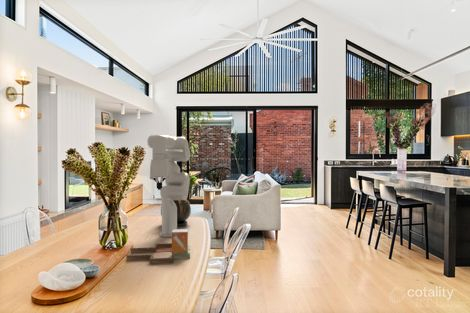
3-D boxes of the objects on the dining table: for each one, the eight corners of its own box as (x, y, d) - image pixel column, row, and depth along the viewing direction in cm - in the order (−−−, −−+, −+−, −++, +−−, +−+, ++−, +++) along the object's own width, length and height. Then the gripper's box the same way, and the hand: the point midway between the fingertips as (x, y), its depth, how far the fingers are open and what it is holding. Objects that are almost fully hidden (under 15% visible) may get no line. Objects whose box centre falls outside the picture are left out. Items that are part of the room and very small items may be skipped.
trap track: (132, 249, 184) (132, 244, 184) (189, 247, 188) (189, 242, 188) (123, 265, 158) (123, 260, 158) (190, 262, 162) (190, 257, 162)
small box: (171, 257, 169) (171, 232, 169) (172, 253, 176) (172, 229, 175) (187, 257, 170) (187, 231, 170) (188, 253, 177) (188, 228, 176)
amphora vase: (188, 228, 232) (188, 188, 232) (157, 228, 233) (157, 187, 232) (192, 221, 254) (192, 184, 253) (164, 221, 254) (164, 184, 253)
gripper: (173, 156, 193) (173, 188, 194) (146, 156, 191) (146, 189, 192) (172, 157, 186) (172, 190, 186) (144, 157, 184) (144, 190, 184)
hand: (159, 189), depth 189 cm, fingers closed
